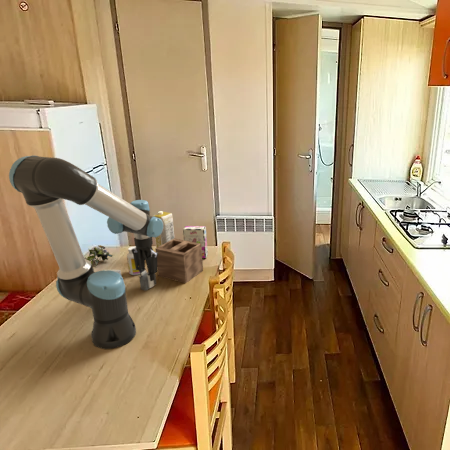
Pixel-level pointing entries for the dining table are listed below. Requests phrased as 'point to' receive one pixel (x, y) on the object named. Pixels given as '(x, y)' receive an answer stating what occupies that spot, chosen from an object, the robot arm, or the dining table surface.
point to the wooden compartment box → (179, 260)
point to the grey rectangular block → (145, 281)
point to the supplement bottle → (132, 262)
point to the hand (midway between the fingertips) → (148, 285)
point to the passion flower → (98, 254)
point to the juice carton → (165, 228)
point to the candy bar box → (197, 237)
